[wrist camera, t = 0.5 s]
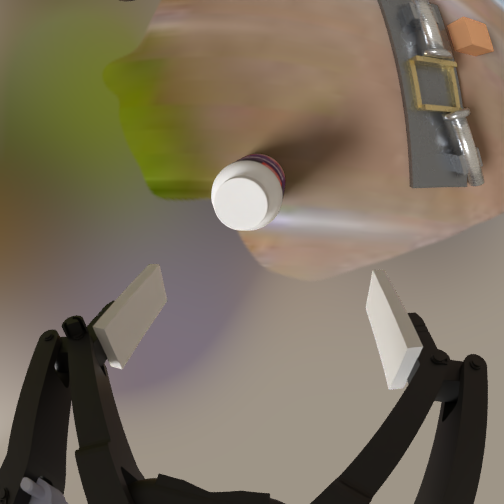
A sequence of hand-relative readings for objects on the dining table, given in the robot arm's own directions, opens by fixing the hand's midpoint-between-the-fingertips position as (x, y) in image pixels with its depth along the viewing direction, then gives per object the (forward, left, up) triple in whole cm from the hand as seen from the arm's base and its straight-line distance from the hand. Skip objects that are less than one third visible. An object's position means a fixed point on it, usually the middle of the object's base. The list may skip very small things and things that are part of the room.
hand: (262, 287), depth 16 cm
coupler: (-25, +35, -27) cm, 51 cm away
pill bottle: (-2, -3, -27) cm, 27 cm away
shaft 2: (-6, +29, -25) cm, 39 cm away
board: (-15, +26, -27) cm, 40 cm away
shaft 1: (-25, +26, -25) cm, 44 cm away
